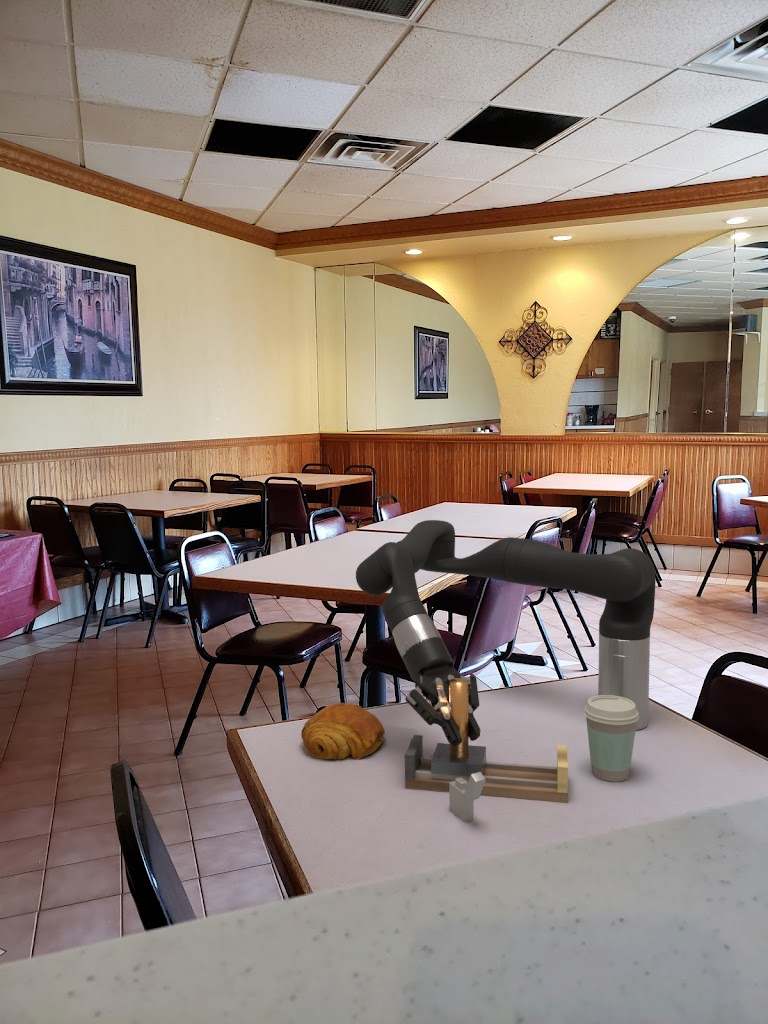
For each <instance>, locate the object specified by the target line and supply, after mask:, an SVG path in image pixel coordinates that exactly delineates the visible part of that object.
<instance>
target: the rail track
mask: <svg viewBox="0 0 768 1024" xmlns="http://www.w3.org/2000/svg"><path fill="white" fill-rule="evenodd" d="M423 746H424V745H423V735H422V734H413V735H412V736H411V740H410V742H409V743H408V747H407V749H406V750H405V754H404V788H405V789H410V790H421V791H431V792H440V793H441V792H443V793H444V792H445V793H449V783H450V782H452V781H455V779H456V778H463V779H464V780H465V781H467V782H469V779H470V777H469V776H457V775H445V774H433V773H431V760H432V757H433V756H423V755H424V754H423V753H424V752H423V750H424V749H423ZM483 776H484V778H485V779H486V780H485V783H484V786H483V789H482V791H481V794H480V796H487V797H498V798H512V799H524V800H533V801H547V802H557V803H567V804H568V801H569V800H568V797H569V796H568V795H569V794H568V793H569V789H568V788H569V786H568V785H569V783H568V782H569V763H568V746H567V745H559V744H557V747H556V766H546V765H536V764H533V765H532V764H521V763H520V764H519V763H507V762H498V761H497V762H495V761H485V767H484V772H483Z"/></svg>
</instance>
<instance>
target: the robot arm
mask: <svg viewBox="0 0 768 1024" xmlns="http://www.w3.org/2000/svg"><path fill="white" fill-rule="evenodd" d="M455 531H456V529H455V527H454V525H453V524H452V523H450V522H448V521H445V520H438V519H429V520H427V519H426V520H423V521H419V522H418V523H416V524H415V525H414V526H413V528H412V529H411V530H409V532H408V533H407V534H406V536H404V538H403V539H401V540H399V541H397V542H395V541H389V542H386V543H384V544H383V545H381V546H379V547H378V549H377V550H375V551H374V552H372V553H371V554H369V556H368V557H366V558H365V559H364V560H363V561H361V562H360V563H359V564H358V565H357V568H356V570H355V581H356V584H357V585H358V587H359V589H360V590H361V591H363V592H364V593H365V594H367V595H369V596H373V597H380V596H382V595H384V594H386V593H387V592H389V590H391V591H390V592H389V594H388V595H387V596H386V598H385V600H384V601H383V603H382V605H381V611H382V615H383V617H384V619H385V621H386V624H387V626H388V627H389V630H390V632H391V634H392V636H393V639H394V643H395V646H396V648H397V650H398V652H399V655H400V656H401V659H402V661H403V663H404V666H405V667H406V670H407V672H408V675H409V676H410V678H411V680H412V681H413V682H414V688H413V689H411V690H410V691H409V692H408V694H407V695H406V696H405V699H404V700H405V702H406V703H407V704H408V705H409V706H410V708H412V709H413V710H414V712H416V713H417V715H419V716H420V718H421V719H423V720H424V722H425V723H427V725H429V726H432V725H437V726H440V727H441V729H442V732H443V734H444V736H445V739H446V740H447V741H448V744H451V743H452V745H453V746H454V747H455V746H458V745H459V744H460V743H461V742H462V737H461V735H460V733H459V731H458V729H457V727H456V725H455V723H454V721H453V719H451V720H450V714H449V709H448V705H449V680H451V679H454V678H463V679H466V680H468V736H469V740H470V741H471V742H473V741H476V740H478V739H479V738H480V737H481V732H482V731H481V728H480V726H479V724H478V722H477V719H476V718H475V716H474V712H475V711H476V710H477V709H479V707H480V697H479V691H478V689H479V688H478V683H477V682H478V681H477V676H476V675H474V674H471V675H469V676H464V675H461V674H460V672H459V671H458V670H456V668H455V667H454V666H455V665H454V663H453V657H452V656H451V654H450V652H449V649H448V648H447V646H446V644H445V642H444V640H443V637H442V636H441V634H440V632H439V630H438V628H437V626H436V625H435V623H434V622H433V620H432V619H431V617H430V616H429V614H428V611H427V609H426V608H425V606H424V604H423V601H422V600H421V598H420V594H419V589H418V585H417V579H416V573H418V572H419V571H420V570H422V571H426V572H430V573H431V572H433V573H443V574H453V575H465V576H474V577H479V578H480V577H481V578H486V579H491V580H496V581H502V582H506V583H513V584H517V585H523V586H524V585H525V586H532V587H533V586H534V587H539V588H540V587H541V588H546V589H547V588H549V589H560V590H569V591H572V592H573V591H574V592H577V593H581V594H582V593H583V594H585V595H588V596H589V595H590V596H592V597H596V598H598V599H599V598H600V599H603V600H605V605H604V609H603V611H602V614H601V616H600V618H599V621H598V676H597V677H598V682H597V683H598V687H597V688H598V691H597V694H598V695H597V696H599V695H613V696H620V697H624V698H627V699H629V700H631V701H633V702H634V703H635V705H636V709H637V711H638V715H639V719H638V720H637V723H636V730H635V731H637V730H638V731H639V730H642V729H644V728H646V727H648V725H649V703H650V700H649V698H650V697H649V695H650V658H651V657H650V655H651V654H650V652H651V651H650V649H651V648H650V646H651V645H650V644H651V643H650V642H651V628H652V627H651V626H652V622H653V620H654V616H655V615H654V614H655V600H656V569H655V566H654V563H653V561H652V559H651V558H650V557H649V556H648V554H646V553H645V552H643V551H642V550H640V549H636V548H630V547H628V548H622V549H619V550H617V551H614V552H611V553H601V554H597V553H596V554H595V553H581V552H580V553H578V552H574V551H573V552H571V551H567V550H564V549H562V548H560V547H557V546H554V545H552V544H551V543H550V544H549V543H547V542H543V541H540V540H535V539H529V538H528V539H527V538H520V537H511V536H508V537H504V538H501V539H499V540H497V541H495V542H493V543H491V544H489V545H487V546H486V547H484V548H483V549H481V550H479V551H477V552H475V553H473V554H471V555H468V556H465V557H462V558H461V557H456V556H455V555H456V554H455V553H456V532H455ZM427 700H428V701H427Z"/></svg>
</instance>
